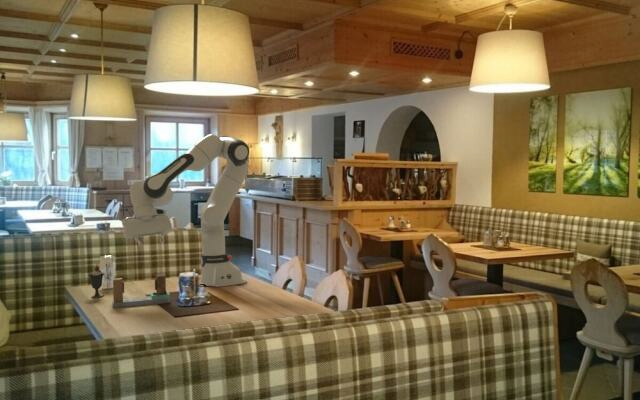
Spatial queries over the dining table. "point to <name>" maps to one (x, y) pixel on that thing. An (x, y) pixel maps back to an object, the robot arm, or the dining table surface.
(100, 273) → the sundae
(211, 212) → the robot arm
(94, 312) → the dining table surface
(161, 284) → the walnut finger
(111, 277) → the white carton
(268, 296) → the dining table surface
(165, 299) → the rail
